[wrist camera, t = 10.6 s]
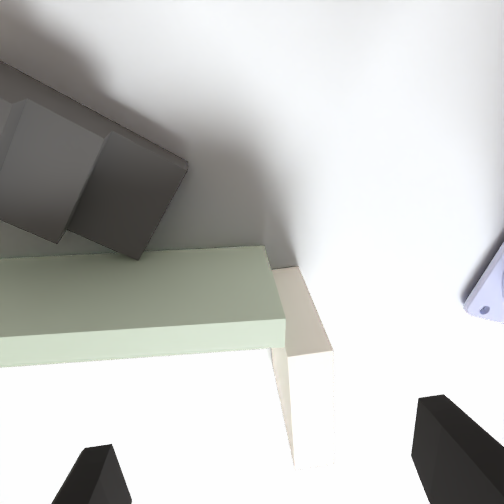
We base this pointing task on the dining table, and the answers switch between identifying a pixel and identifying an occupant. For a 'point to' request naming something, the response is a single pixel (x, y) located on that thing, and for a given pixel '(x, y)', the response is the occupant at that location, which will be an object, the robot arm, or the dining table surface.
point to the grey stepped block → (78, 170)
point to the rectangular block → (304, 374)
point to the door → (137, 305)
